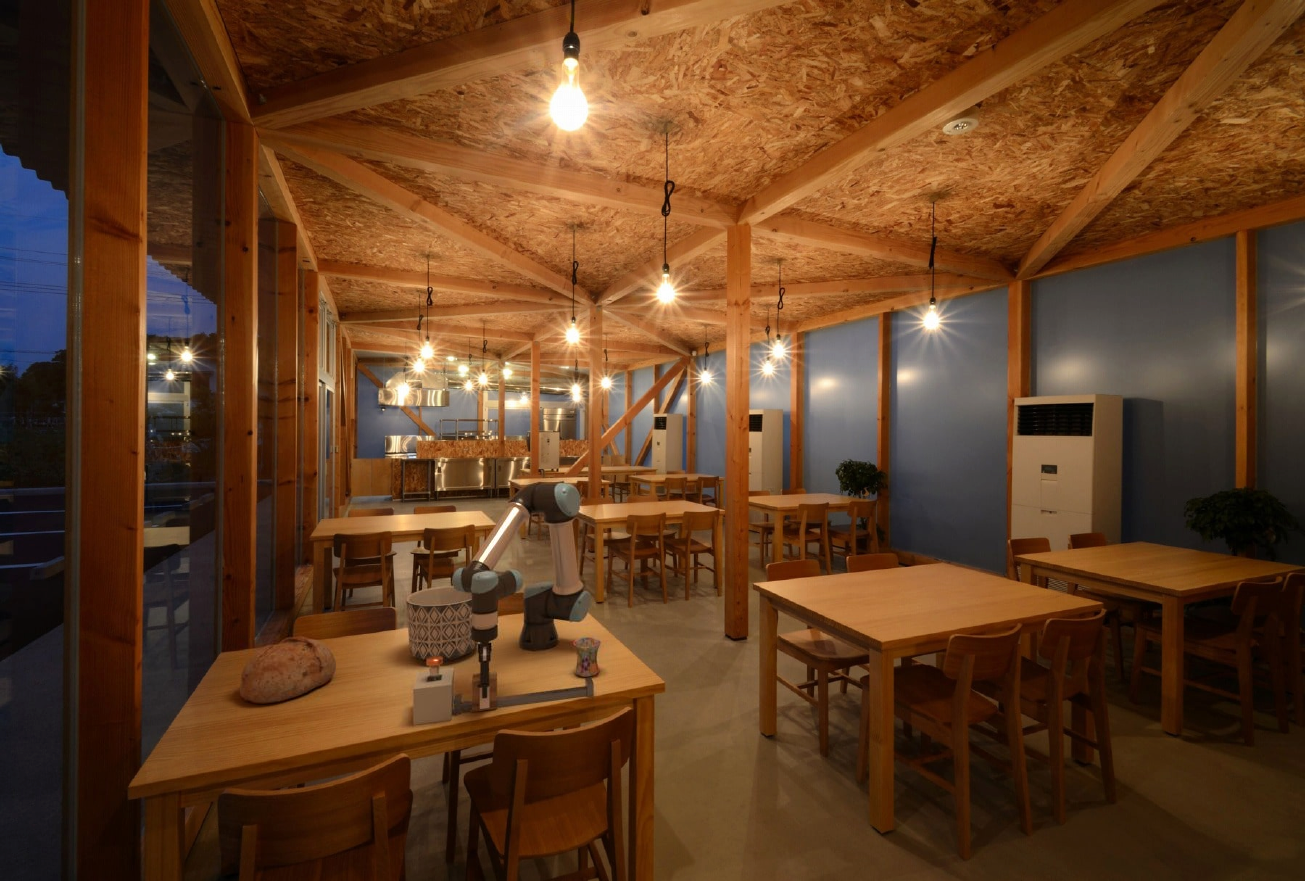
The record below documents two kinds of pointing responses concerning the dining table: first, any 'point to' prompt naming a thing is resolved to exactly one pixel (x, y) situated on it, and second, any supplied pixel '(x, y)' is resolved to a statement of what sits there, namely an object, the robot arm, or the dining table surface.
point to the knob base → (433, 697)
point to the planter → (440, 623)
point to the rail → (530, 697)
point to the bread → (286, 670)
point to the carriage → (491, 692)
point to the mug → (586, 656)
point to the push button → (434, 666)
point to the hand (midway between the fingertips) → (484, 703)
